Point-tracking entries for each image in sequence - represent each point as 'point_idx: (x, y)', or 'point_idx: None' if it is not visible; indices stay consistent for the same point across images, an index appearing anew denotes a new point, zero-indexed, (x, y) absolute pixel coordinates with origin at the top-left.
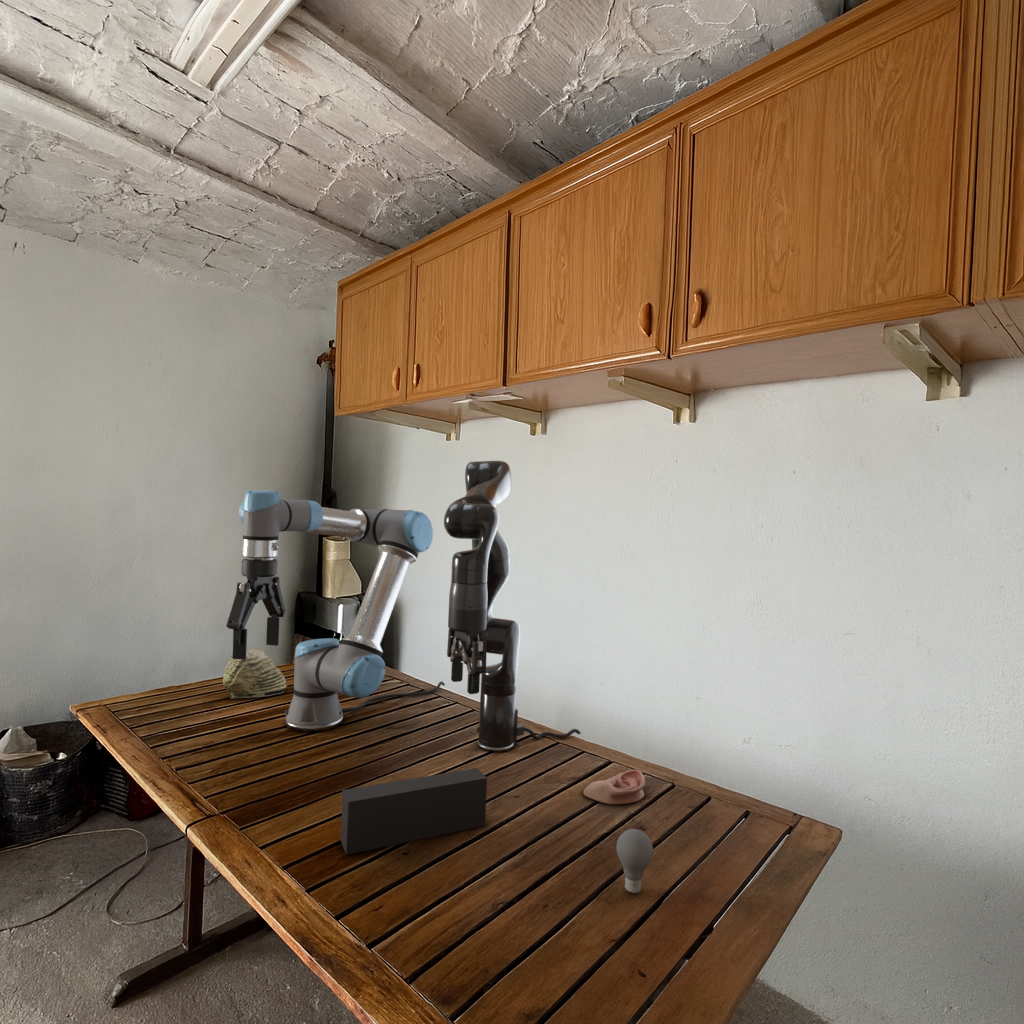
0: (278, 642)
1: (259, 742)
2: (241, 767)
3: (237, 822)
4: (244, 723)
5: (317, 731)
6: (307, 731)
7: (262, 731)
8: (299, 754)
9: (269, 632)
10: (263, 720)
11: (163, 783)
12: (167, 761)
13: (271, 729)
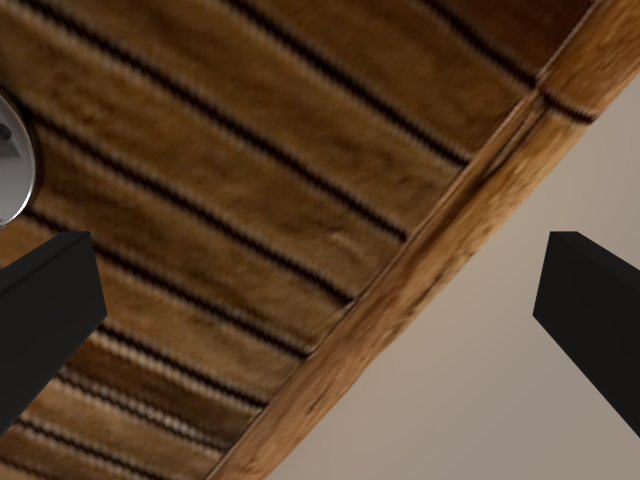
0: (51, 239)
1: (153, 218)
2: (303, 177)
3: (576, 19)
4: None
5: (15, 101)
6: (33, 129)
7: None
8: (182, 72)
9: (40, 357)
10: None
11: (415, 285)
12: (317, 341)
13: None
